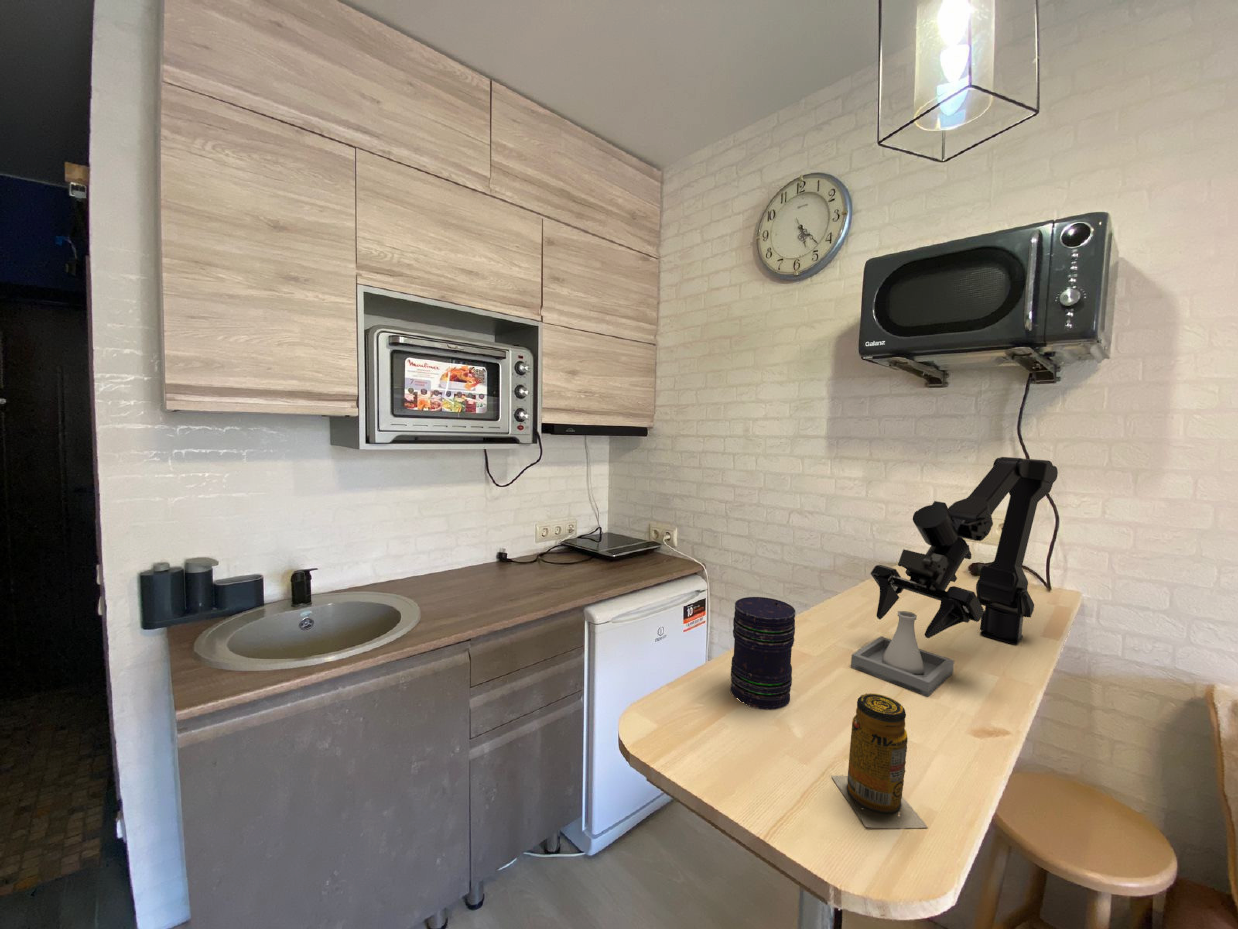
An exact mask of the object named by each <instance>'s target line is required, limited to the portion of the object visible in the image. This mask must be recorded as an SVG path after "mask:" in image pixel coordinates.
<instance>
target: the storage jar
mask: <svg viewBox="0 0 1238 929" xmlns="http://www.w3.org/2000/svg"><path fill="white" fill-rule="evenodd" d="M733 615H734V617H733V621H732V622H733V623H732V624H733V625H732V626H733V629H732V636H733V638H734V640H733V641H734V643H733V644H734V645H733V655H732V658H731V666H730V682H731V684H730V692H731V691H732V693H731V695H732V694H733V695H734V696H735V697H736V698H738V699H739V700H740V701H741V702H744V703H745V704H747V705H750V706H751V708H753V707H754V709H757V708H759V709H758V710H764V711H765V710H766V711H771V710H779V709H783V708H785V707H787V706H788V705H789V703H790V701H791V694H790V693H791V690H792V689H791V687H792V684H793V676H792V675H793V666H792V663H791V662H792V650H793V646H794V642H795V633H796V625H795V624H796V620H795V619H796V609H795V608H794V606H793V605H791V604H789V603H787V602H785V601H783V600H779V599H776V598H769V597H763V596H748V597H742V598H739V599H737V600H736V601H735V603H734V612H733ZM733 695H732V696H733ZM734 696H733V697H734ZM735 697H734V698H735ZM736 698H735V699H736ZM740 701H739V702H740ZM741 702H740V703H741ZM745 704H744V705H745ZM747 705H746V706H747ZM750 706H749V707H750Z"/></svg>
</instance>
